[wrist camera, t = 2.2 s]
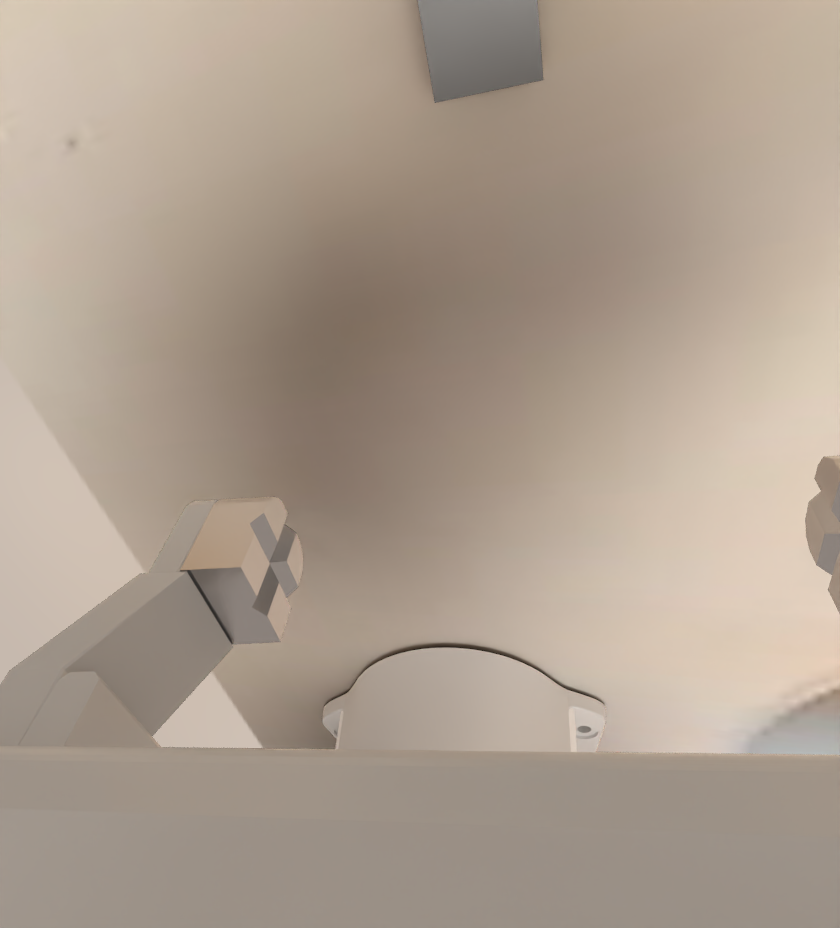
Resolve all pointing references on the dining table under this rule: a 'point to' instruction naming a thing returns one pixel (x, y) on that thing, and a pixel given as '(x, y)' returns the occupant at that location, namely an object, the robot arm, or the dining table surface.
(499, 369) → the dining table surface
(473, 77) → the plug
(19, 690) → the robot arm
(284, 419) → the dining table surface
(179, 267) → the dining table surface
